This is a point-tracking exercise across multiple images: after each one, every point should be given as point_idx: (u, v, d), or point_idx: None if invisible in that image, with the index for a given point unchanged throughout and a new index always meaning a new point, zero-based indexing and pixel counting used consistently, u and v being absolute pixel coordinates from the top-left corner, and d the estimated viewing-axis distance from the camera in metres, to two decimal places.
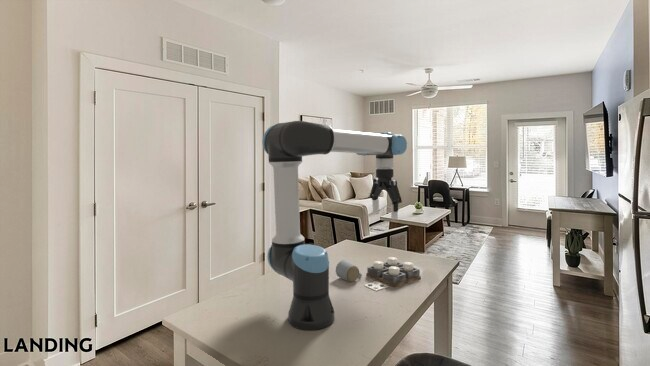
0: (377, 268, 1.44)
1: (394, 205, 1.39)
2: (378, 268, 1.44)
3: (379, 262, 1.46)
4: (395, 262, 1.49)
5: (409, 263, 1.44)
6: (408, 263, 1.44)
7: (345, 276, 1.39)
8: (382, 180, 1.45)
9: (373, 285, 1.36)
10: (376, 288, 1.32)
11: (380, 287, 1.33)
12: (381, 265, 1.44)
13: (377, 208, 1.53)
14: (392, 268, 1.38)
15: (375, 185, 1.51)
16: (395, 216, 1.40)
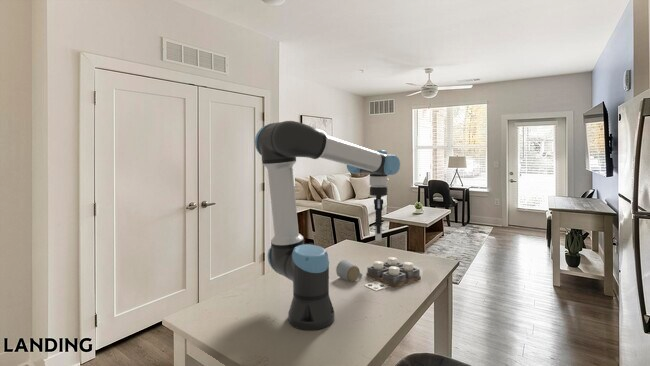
0: (377, 268, 1.44)
1: (376, 227, 1.43)
2: (378, 268, 1.44)
3: (379, 262, 1.46)
4: (395, 262, 1.49)
5: (409, 263, 1.44)
6: (408, 263, 1.44)
7: (346, 276, 1.39)
8: None
9: (373, 285, 1.36)
10: (376, 288, 1.32)
11: (380, 287, 1.33)
12: (381, 265, 1.44)
13: None
14: (392, 268, 1.38)
15: None
16: (379, 238, 1.43)
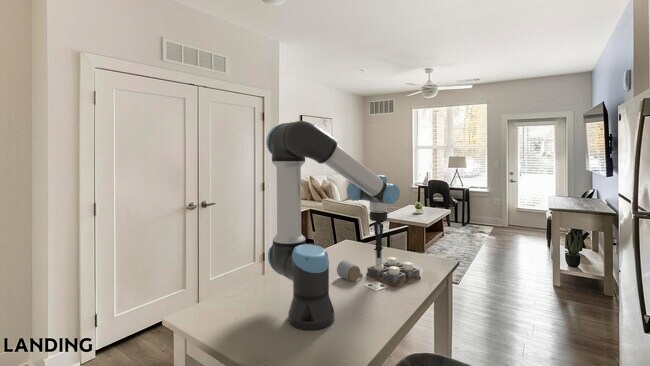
0: None
1: (377, 251, 1.44)
2: (378, 270, 1.44)
3: None
4: (395, 262, 1.49)
5: (409, 263, 1.44)
6: (408, 263, 1.44)
7: (346, 276, 1.39)
8: None
9: (373, 285, 1.36)
10: (376, 288, 1.32)
11: (380, 287, 1.33)
12: (381, 267, 1.44)
13: None
14: (392, 268, 1.38)
15: None
16: (379, 262, 1.45)
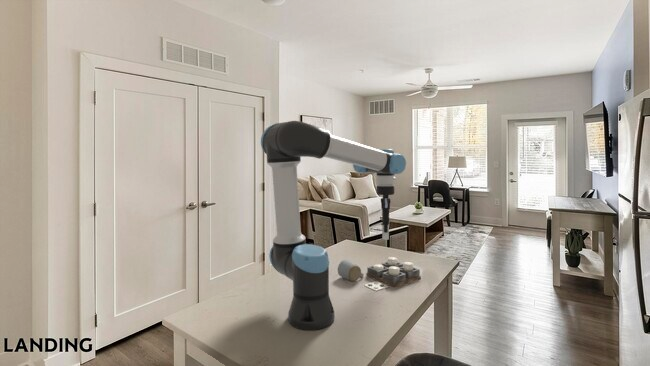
0: None
1: (384, 226, 1.43)
2: None
3: (379, 265, 1.46)
4: (395, 262, 1.49)
5: (409, 263, 1.44)
6: (408, 263, 1.44)
7: (347, 275, 1.39)
8: None
9: (373, 285, 1.36)
10: (376, 288, 1.32)
11: (380, 287, 1.33)
12: (381, 268, 1.44)
13: None
14: (392, 268, 1.38)
15: None
16: (386, 237, 1.44)
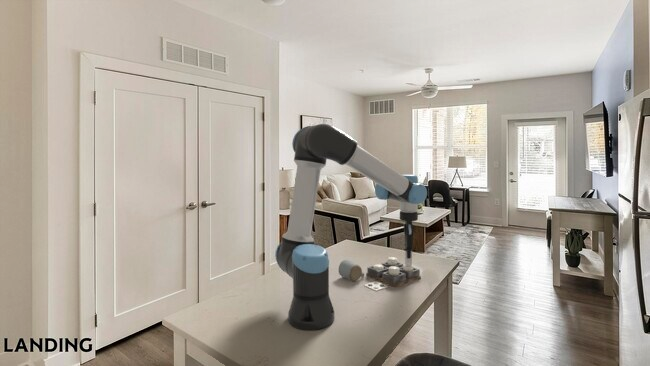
0: None
1: (407, 252, 1.42)
2: None
3: (379, 265, 1.46)
4: (395, 262, 1.49)
5: (409, 265, 1.44)
6: (408, 265, 1.44)
7: (348, 275, 1.40)
8: (406, 222, 1.43)
9: (373, 285, 1.36)
10: (376, 288, 1.32)
11: (380, 287, 1.33)
12: (381, 268, 1.44)
13: None
14: (392, 268, 1.38)
15: None
16: (409, 262, 1.43)
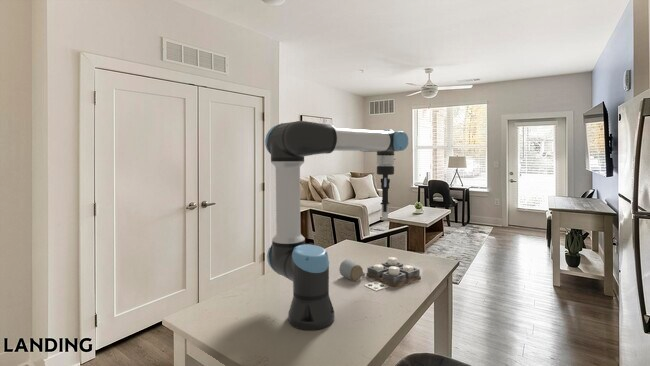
0: None
1: (383, 205, 1.46)
2: None
3: (379, 265, 1.46)
4: (395, 262, 1.49)
5: (409, 266, 1.44)
6: (408, 267, 1.44)
7: (349, 275, 1.40)
8: None
9: (373, 285, 1.36)
10: (376, 288, 1.32)
11: (380, 287, 1.33)
12: (381, 268, 1.44)
13: None
14: (392, 268, 1.38)
15: None
16: (385, 216, 1.47)
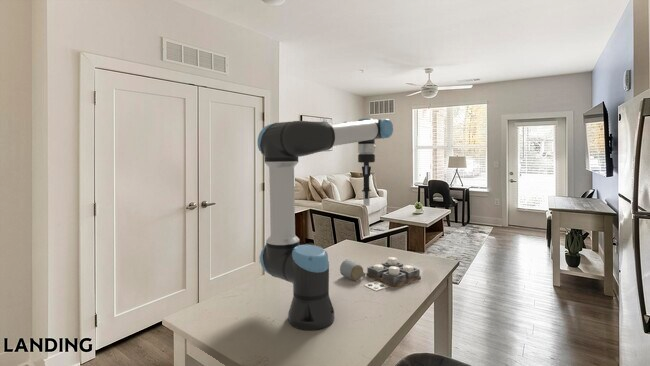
0: None
1: (364, 192, 1.50)
2: None
3: (379, 265, 1.46)
4: (395, 262, 1.49)
5: (409, 266, 1.44)
6: (408, 267, 1.44)
7: (349, 275, 1.40)
8: None
9: (373, 285, 1.36)
10: (376, 288, 1.32)
11: (380, 287, 1.33)
12: (381, 268, 1.44)
13: None
14: (392, 268, 1.38)
15: None
16: (367, 203, 1.51)
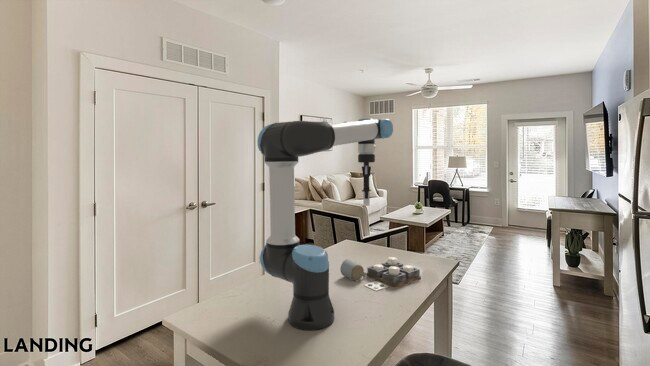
0: None
1: (364, 192, 1.50)
2: None
3: (379, 265, 1.46)
4: (395, 262, 1.49)
5: (409, 266, 1.44)
6: (408, 267, 1.44)
7: (350, 275, 1.40)
8: None
9: (373, 285, 1.36)
10: (376, 288, 1.32)
11: (380, 287, 1.33)
12: (381, 268, 1.44)
13: None
14: (392, 268, 1.38)
15: None
16: (367, 203, 1.51)
